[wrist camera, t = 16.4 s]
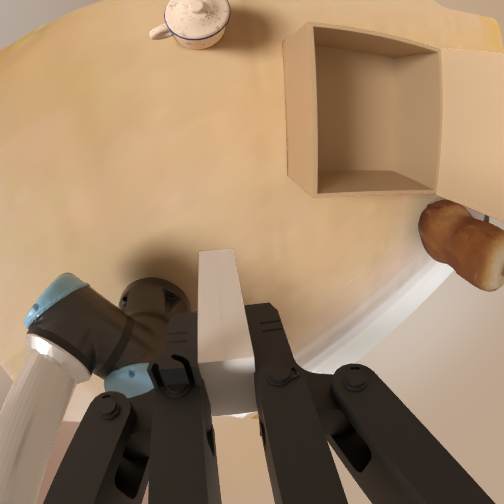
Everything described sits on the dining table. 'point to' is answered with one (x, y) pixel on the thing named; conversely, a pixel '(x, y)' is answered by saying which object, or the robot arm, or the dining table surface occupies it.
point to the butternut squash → (464, 243)
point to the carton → (362, 112)
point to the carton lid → (473, 130)
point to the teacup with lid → (194, 22)
